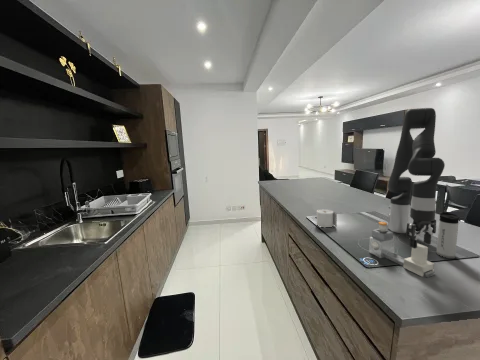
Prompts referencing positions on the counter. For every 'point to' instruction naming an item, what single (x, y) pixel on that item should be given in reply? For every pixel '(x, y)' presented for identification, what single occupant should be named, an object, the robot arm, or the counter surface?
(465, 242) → the counter surface
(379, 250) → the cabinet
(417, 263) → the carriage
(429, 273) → the rail
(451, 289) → the counter surface
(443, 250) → the travel mug
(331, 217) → the toilet tissue
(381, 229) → the plunger
